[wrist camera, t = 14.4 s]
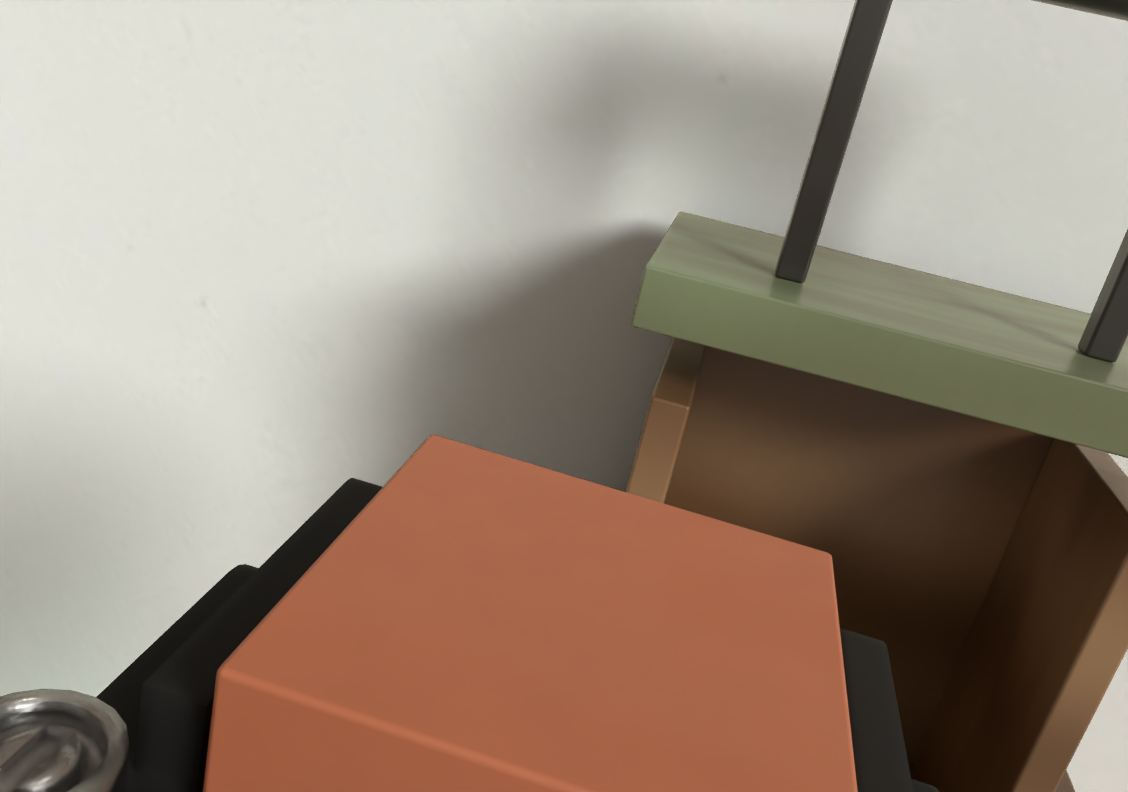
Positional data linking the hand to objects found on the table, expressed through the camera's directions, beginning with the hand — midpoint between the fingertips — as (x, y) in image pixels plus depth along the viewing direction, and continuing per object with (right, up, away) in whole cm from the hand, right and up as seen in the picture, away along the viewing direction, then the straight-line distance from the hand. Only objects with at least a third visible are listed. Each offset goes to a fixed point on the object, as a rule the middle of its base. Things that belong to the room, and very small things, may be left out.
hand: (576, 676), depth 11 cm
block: (0, 0, 0) cm, 0 cm away
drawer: (+7, +3, +14) cm, 16 cm away
